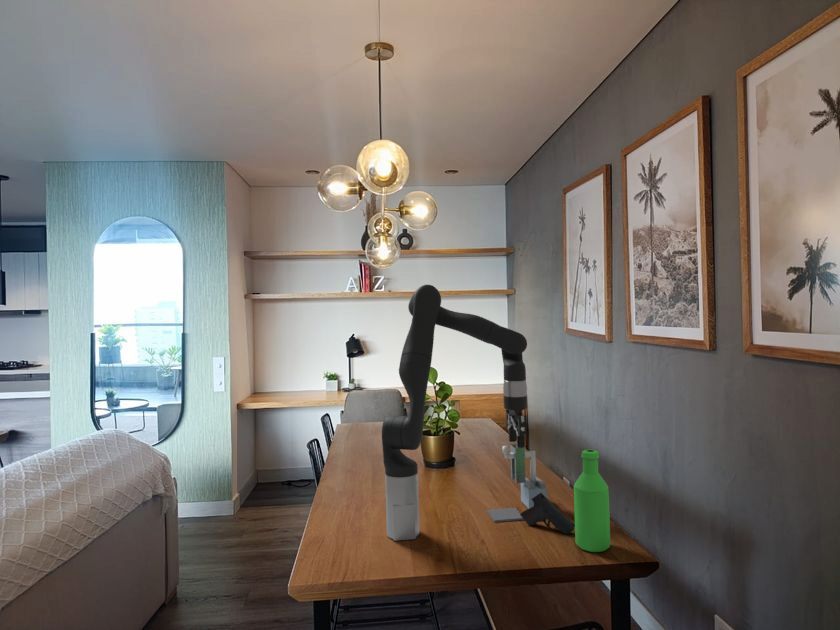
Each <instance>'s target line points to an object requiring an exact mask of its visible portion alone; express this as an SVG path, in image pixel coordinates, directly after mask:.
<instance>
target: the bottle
mask: <svg viewBox="0 0 840 630" xmlns="http://www.w3.org/2000/svg"><path fill="white" fill-rule="evenodd" d="M580 456H581V459H582V472H581V474H580V475H579V477H578V478H577V480H576V481H575V483H574V484H573V502H574V506H573V507H574V510H573V511H574V525H575V527H574V535H575V537H574V539H575V541H574V542H575V544H576V545H577V546H578V547H579V548H580V549H581V550H583V551H586V552H590V553H600V552H605V551H607V550H608V549H609V548H610V547H611V520H610V518H611V517H610V514H611V513H610V493H609V489H610V488H609V486H608V484H607V483H606V481H605V480H604V478H603V477H602V475H601V474H600V473H599V458H600V455H599V451H597V450H595V449H585V450H583V451H581V455H580Z"/></svg>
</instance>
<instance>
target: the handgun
mask: <svg viewBox="0 0 840 630" xmlns="http://www.w3.org/2000/svg"><path fill="white" fill-rule="evenodd" d="M532 501H533V502H534V506H533V507H531V508H529V509H528V508H527V509H525V510H524V511H522V512H521V513H520V515H521V516H522V518H523V519H524V520H523V521H525V522H526V524H528V525H529V527H533V526H534V525H537V523H542V522H543V523H544V524H545V525H546V527H547V528H548V529H549V530H550V531H554V530H556V529H557V530H559V531H560V532H561V533H562V534H563V535H564V536H565V535H569V534H572V532H573V531H575V523H574V522H572V520H570V519H569V517H568V516H566V514H564V513H563V512H562V511H561V510H560V509H559V508H558V507H557V506H556V505H555V504H554V503H553V502H551V500H549V498H548V497H547V498H546V497H545V496H544V495H543V494H542V493H540V494H538V495H537V496H535V497H534V498H532ZM551 524H552V525H553V526H554V528H552V527H551Z"/></svg>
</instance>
